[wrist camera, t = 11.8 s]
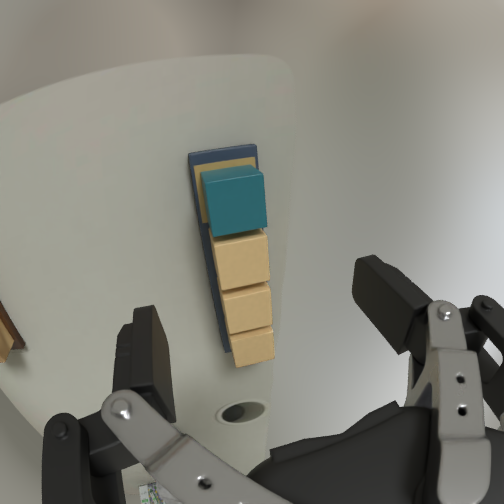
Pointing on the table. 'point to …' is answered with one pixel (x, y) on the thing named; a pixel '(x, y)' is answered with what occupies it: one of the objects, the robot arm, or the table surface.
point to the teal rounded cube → (234, 199)
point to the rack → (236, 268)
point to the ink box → (150, 494)
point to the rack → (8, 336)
